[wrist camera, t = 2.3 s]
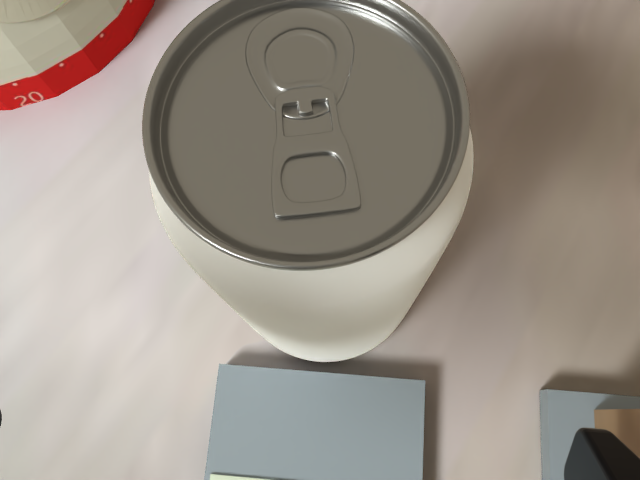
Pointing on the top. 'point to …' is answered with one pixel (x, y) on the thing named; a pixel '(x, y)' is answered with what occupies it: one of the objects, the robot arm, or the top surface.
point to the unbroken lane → (314, 426)
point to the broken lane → (570, 422)
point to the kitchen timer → (60, 44)
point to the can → (310, 163)
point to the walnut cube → (621, 425)
